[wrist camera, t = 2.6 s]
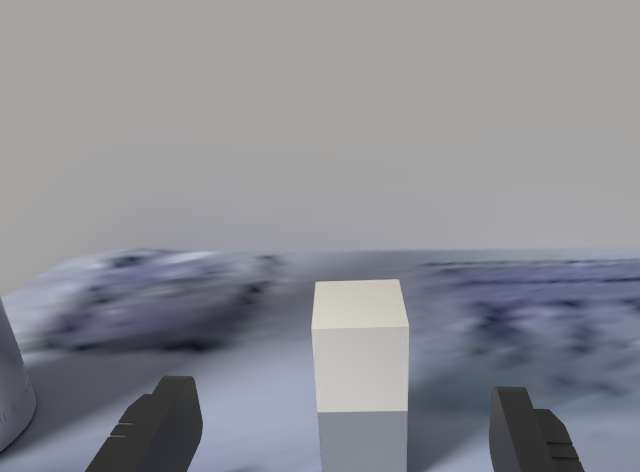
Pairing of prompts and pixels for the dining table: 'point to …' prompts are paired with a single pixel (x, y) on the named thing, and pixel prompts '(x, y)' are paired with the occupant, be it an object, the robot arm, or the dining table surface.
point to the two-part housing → (361, 375)
